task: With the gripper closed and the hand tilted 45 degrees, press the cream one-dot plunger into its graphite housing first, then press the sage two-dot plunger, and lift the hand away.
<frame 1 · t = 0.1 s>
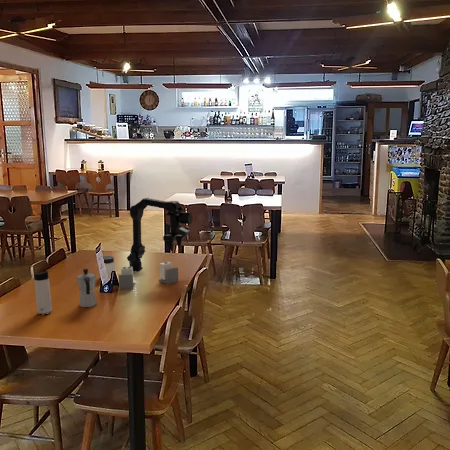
hand: (175, 249, 277), 15 cm above the table, tool pointing down, fingers open, 9 cm apart
coffee maker: (88, 305, 230), on the table
travel mug: (45, 313, 221), on the table
plunger one: (166, 270, 266), point 6 cm above the table, slide at 0.0 cm
housing two: (127, 285, 259), on the table
plunger two: (127, 275, 258), point 6 cm above the table, slide at 0.0 cm
housing one: (166, 280, 267), on the table
jar: (107, 278, 274), on the table
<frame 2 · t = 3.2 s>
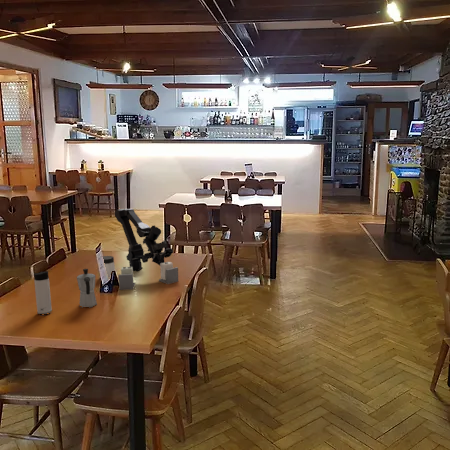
hand: (164, 267, 267), 7 cm above the table, tool tilted 45°, fingers closed, pressing on plunger one
plunger one: (166, 270, 266), point 6 cm above the table, slide at 0.4 cm, touching gripper
everything else where it was.
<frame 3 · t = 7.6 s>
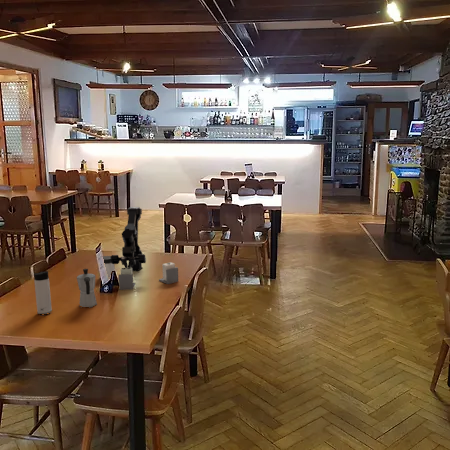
hand: (127, 272, 258), 7 cm above the table, tool tilted 45°, fingers closed, pressing on plunger two
plunger one: (168, 271, 264), point 6 cm above the table, slide at 2.4 cm
plunger two: (126, 276, 256), point 6 cm above the table, slide at 1.5 cm, touching gripper
everything else where it was.
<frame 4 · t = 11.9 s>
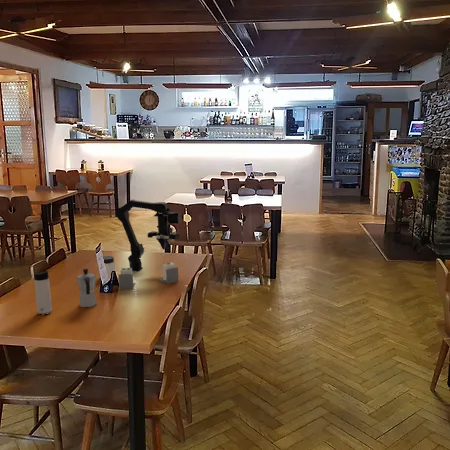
hand: (163, 249, 285), 13 cm above the table, tool pointing down, fingers closed
plunger two: (126, 276, 255), point 6 cm above the table, slide at 2.4 cm
everything else where it was.
at the end: plunger one slide at 2.4 cm; plunger two slide at 2.4 cm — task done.
